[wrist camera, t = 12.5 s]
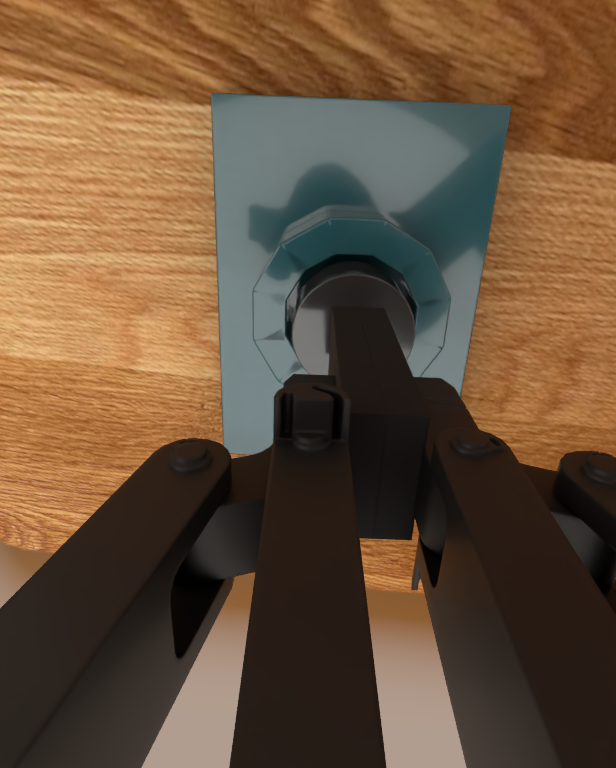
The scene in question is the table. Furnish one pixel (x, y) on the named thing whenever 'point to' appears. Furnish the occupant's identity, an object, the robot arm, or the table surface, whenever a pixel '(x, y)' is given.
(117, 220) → the table surface
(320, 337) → the dark grey round knob
